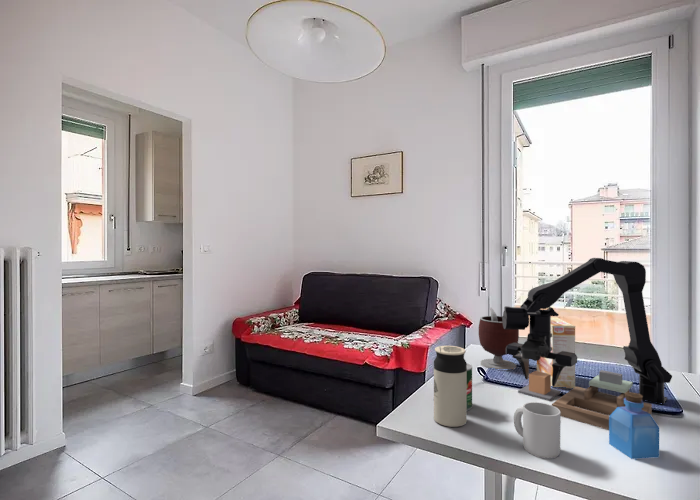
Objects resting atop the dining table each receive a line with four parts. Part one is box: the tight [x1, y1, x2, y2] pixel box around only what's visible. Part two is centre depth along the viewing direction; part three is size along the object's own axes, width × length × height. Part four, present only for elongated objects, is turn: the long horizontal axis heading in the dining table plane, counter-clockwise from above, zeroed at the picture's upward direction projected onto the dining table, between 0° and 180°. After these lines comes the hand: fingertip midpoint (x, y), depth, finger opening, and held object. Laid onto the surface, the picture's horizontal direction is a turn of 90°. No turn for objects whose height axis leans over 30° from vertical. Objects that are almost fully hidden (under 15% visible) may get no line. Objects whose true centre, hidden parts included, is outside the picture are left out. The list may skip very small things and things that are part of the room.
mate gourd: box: [478, 307, 520, 370], centre depth 146 cm, size 16×14×20 cm
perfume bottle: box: [608, 391, 660, 460], centre depth 85 cm, size 6×6×12 cm
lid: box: [588, 369, 634, 394], centre depth 109 cm, size 8×8×4 cm
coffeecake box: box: [536, 316, 576, 389], centre depth 129 cm, size 15×7×20 cm, turn 172°
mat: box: [517, 384, 562, 402], centre depth 118 cm, size 9×9×1 cm
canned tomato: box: [467, 363, 473, 411], centre depth 109 cm, size 8×8×11 cm
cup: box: [513, 401, 561, 459], centre depth 86 cm, size 7×10×9 cm
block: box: [528, 370, 552, 395], centre depth 118 cm, size 4×4×5 cm
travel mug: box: [433, 345, 468, 428], centre depth 99 cm, size 8×8×18 cm
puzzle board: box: [551, 385, 653, 431], centre depth 103 cm, size 19×18×5 cm
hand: (539, 382), depth 118 cm, fingers open, 7 cm apart
